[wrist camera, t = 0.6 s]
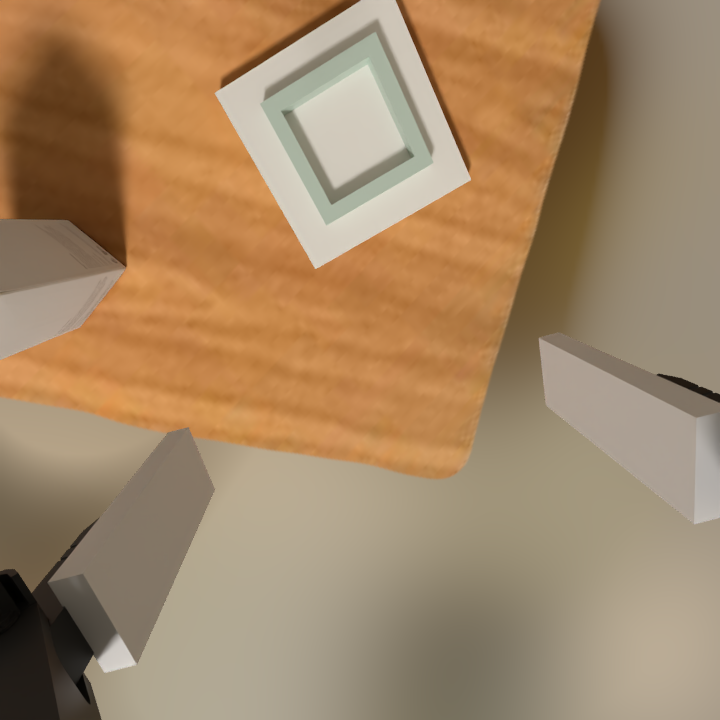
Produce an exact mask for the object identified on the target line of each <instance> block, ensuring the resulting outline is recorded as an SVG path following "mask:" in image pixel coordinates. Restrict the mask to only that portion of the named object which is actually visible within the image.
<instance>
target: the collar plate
mask: <svg viewBox="0 0 720 720" xmlns="http://www.w3.org/2000/svg"><path fill="white" fill-rule="evenodd" d="M215 94H216V96H217V98H218V100H219V101H220V103H221V105H222V107H223V108H224V110H225V112H226V114H227V115H228V117H229V119H230V121H231V122H232V124H233V126H234V128H235V129H236V131H237V133H238V135H239V136H240V138H241V140H242V142H243V143H244V145H245V147H246V149H247V150H248V152H249V154H250V156H251V157H252V159H253V161H254V163H255V164H256V166H257V168H258V170H259V171H260V173H261V175H262V177H263V178H264V180H265V182H266V184H267V185H268V187H269V189H270V190H271V192H272V194H273V196H274V197H275V199H276V201H277V203H278V204H279V206H280V208H281V210H282V211H283V213H284V215H285V217H286V218H287V220H288V222H289V224H290V225H291V227H292V229H293V231H294V232H295V234H296V236H297V238H298V239H299V241H300V243H301V245H302V246H303V248H304V250H305V252H306V253H307V255H308V257H309V259H310V260H311V262H312V264H313V266H314V267H315V269H317V268H318V267H320V266H322V265H324V264H325V263H327V262H329V261H331V260H332V259H334V258H336V257H338V256H339V255H341V254H343V253H345V252H346V251H348V250H350V249H352V248H353V247H355V246H357V245H359V244H360V243H362V242H364V241H365V240H367V239H369V238H371V237H372V236H374V235H376V234H378V233H379V232H381V231H383V230H385V229H386V228H388V227H390V226H392V225H393V224H395V223H397V222H399V221H400V220H402V219H404V218H406V217H407V216H409V215H411V214H413V213H414V212H416V211H418V210H419V209H421V208H423V207H425V206H426V205H428V204H430V203H432V202H433V201H435V200H437V199H439V198H440V197H442V196H444V195H446V194H447V193H449V192H451V191H453V190H454V189H456V188H458V187H460V186H461V185H463V184H465V183H467V182H468V181H470V180H471V178H470V176H469V173H468V171H467V169H466V166H465V164H464V161H463V159H462V157H461V154H460V152H459V150H458V147H457V145H456V143H455V140H454V138H453V135H452V133H451V131H450V128H449V126H448V124H447V121H446V119H445V116H444V114H443V112H442V109H441V107H440V105H439V102H438V100H437V97H436V95H435V93H434V90H433V88H432V86H431V83H430V81H429V79H428V76H427V74H426V71H425V69H424V67H423V64H422V62H421V60H420V57H419V55H418V52H417V50H416V48H415V45H414V43H413V41H412V38H411V36H410V34H409V31H408V29H407V26H406V24H405V22H404V19H403V17H402V15H401V12H400V10H399V7H398V5H397V3H396V0H361V1H359V2H358V3H356V4H355V5H353V6H351V7H350V8H348V9H347V10H345V11H343V12H342V13H340V14H339V15H337V16H336V17H334V18H332V19H331V20H329V21H328V22H326V23H325V24H323V25H321V26H320V27H318V28H317V29H315V30H313V31H312V32H310V33H309V34H307V35H306V36H304V37H302V38H301V39H299V40H298V41H296V42H295V43H293V44H291V45H290V46H288V47H287V48H285V49H283V50H282V51H280V52H279V53H277V54H276V55H274V56H272V57H271V58H269V59H268V60H266V61H265V62H263V63H261V64H260V65H258V66H257V67H255V68H253V69H252V70H250V71H249V72H247V73H246V74H244V75H242V76H241V77H239V78H238V79H236V80H235V81H233V82H231V83H230V84H228V85H227V86H225V87H223V88H222V89H220V90H219V91H217V92H216V93H215Z"/></svg>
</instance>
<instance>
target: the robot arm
mask: <svg viewBox="0 0 720 720" xmlns="http://www.w3.org/2000/svg"><path fill="white" fill-rule="evenodd" d="M539 345H540V354H541V364H542V372H543V382H544V391H545V400H546V405H547V406H548V407H549V408H550V409H551V410H553V411H554V412H555V413H556V414H557V415H559V416H560V417H561V418H562V419H564V420H565V421H566V422H567V423H569V424H570V425H571V426H572V427H574V428H575V429H576V430H577V431H579V432H580V433H581V434H582V435H584V436H585V437H586V438H588V439H589V440H590V441H591V442H592V443H594V444H595V445H596V446H597V447H599V448H600V449H601V450H603V451H604V452H605V453H606V454H607V455H609V456H610V457H611V458H612V459H614V460H615V461H616V462H617V463H618V464H620V465H621V466H622V467H623V468H625V469H626V470H627V471H629V472H630V473H631V474H632V475H634V476H635V477H636V478H637V479H638V480H640V481H641V482H642V483H644V484H645V485H646V486H647V487H648V488H650V489H651V490H652V491H653V492H655V493H656V494H657V495H658V496H660V497H661V498H662V499H663V500H665V501H666V502H667V503H668V504H670V505H671V506H672V507H673V508H675V509H676V510H677V511H678V512H680V513H681V514H682V515H683V516H685V517H686V518H687V519H689V521H691V522H692V523H693V524H697V523H701V522H705V521H709V520H713V519H717V518H720V394H718V393H713V392H712V391H711V390H708V389H706V388H703V387H698V385H696V384H694V383H691V382H689V381H686V380H684V379H682V378H678V377H673V376H667V375H663V374H657V375H655V374H652V373H650V372H648V371H645V370H643V369H641V368H638V367H636V366H634V365H632V364H630V363H627V362H625V361H623V360H621V359H618V358H616V357H614V356H611V355H609V354H607V353H605V352H602V351H600V350H598V349H595V348H593V347H591V346H589V345H586V344H584V343H582V342H580V341H577V340H575V339H573V338H571V337H568V336H566V335H564V334H561V333H556V334H552V335H548V336H544V337H540V338H539ZM214 490H215V489H214V486H213V484H212V481H211V479H210V477H209V474H208V472H207V470H206V467H205V465H204V463H203V460H202V458H201V456H200V453H199V451H198V448H197V446H196V444H195V441H194V439H193V437H192V434H191V432H190V430H189V427H188V428H184V429H180V430H176V431H172V432H168V433H167V435H166V436H165V437H164V438H163V440H162V441H161V442H160V443H159V445H158V446H157V447H156V448H155V450H154V451H153V452H152V453H151V455H150V456H149V457H148V458H147V459H146V461H145V462H144V463H143V464H142V466H141V467H140V468H139V470H138V471H137V472H136V473H135V474H134V476H133V477H132V478H131V479H130V481H129V482H128V483H127V484H126V486H125V487H124V488H123V489H122V491H121V492H120V493H119V494H118V496H117V497H116V498H115V499H114V501H113V502H112V503H111V504H110V506H109V507H108V508H107V509H106V510H105V512H104V513H103V514H102V515H101V517H100V518H98V519H97V520H96V521H95V522H94V523H92V524H91V525H90V526H89V527H87V528H86V529H85V530H84V531H83V532H82V533H81V534H80V535H79V536H78V538H77V539H76V540H75V541H74V543H73V544H72V545H71V546H70V547H71V548H70V549H68V550H67V551H66V552H65V554H64V555H63V556H62V557H61V561H58V562H57V563H56V564H55V566H54V567H53V568H52V569H51V570H50V572H49V573H48V574H47V575H46V576H45V578H44V579H43V580H42V581H41V583H40V584H39V585H38V586H37V587H36V589H35V590H34V591H33V592H32V593H31V592H30V590H29V589H28V587H27V586H26V584H25V583H24V581H23V580H22V578H21V577H20V575H19V574H18V572H16V570H15V569H8V570H3V571H0V720H101V716H100V713H99V710H98V707H97V703H96V700H95V696H94V693H93V690H92V687H91V683H90V682H89V680H88V678H87V677H86V676H85V674H84V670H85V668H86V666H87V665H88V663H89V661H90V660H91V658H92V656H93V655H94V657H95V658H96V660H97V661H98V663H99V664H100V666H101V668H102V669H103V671H104V672H105V673H106V672H110V671H114V670H118V669H121V668H126V667H130V666H134V665H137V663H138V661H139V659H140V657H141V654H142V652H143V650H144V647H145V645H146V643H147V641H148V639H149V636H150V634H151V632H152V629H153V628H154V625H155V623H156V621H157V619H158V616H159V614H160V612H161V609H162V607H163V605H164V603H165V601H166V598H167V596H168V594H169V591H170V589H171V587H172V585H173V583H174V580H175V578H176V576H177V574H178V571H179V569H180V567H181V564H182V562H183V560H184V558H185V556H186V553H187V551H188V549H189V547H190V544H191V542H192V540H193V538H194V535H195V533H196V531H197V529H198V526H199V524H200V522H201V520H202V517H203V515H204V513H205V510H206V508H207V506H208V504H209V502H210V499H211V497H212V495H213V493H214Z"/></svg>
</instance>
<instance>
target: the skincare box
mask: <svg viewBox="0 0 720 720" xmlns="http://www.w3.org/2000/svg"><path fill="white" fill-rule="evenodd" d="M125 269H126V268H125V266H124V265H123V264H121V263H120V262H119V261H118V260H116V259H115V258H114V257H113V256H112V255H110V254H109V253H108V252H107V251H106V250H104V249H103V248H102V247H101V246H99V245H98V244H97V243H96V242H95V241H93V240H92V239H91V238H90V237H88V236H87V235H86V234H85V233H83V232H82V231H81V230H80V229H78V228H77V227H76V226H75V225H73V224H72V223H71V222H70V221H68V220H36V219H33V220H30V219H0V360H1V359H4V358H6V357H9V356H11V355H13V354H16V353H18V352H21V351H23V350H26V349H28V348H30V347H33V346H35V345H38V344H40V343H42V342H45V341H47V340H50V339H52V338H55V337H57V336H59V335H62V334H64V333H67V332H69V331H72V330H74V329H77V328H79V327H81V325H82V324H83V323H84V322H85V320H86V319H87V318H88V317H89V315H90V314H91V313H92V312H93V310H94V309H95V308H96V307H97V305H98V304H99V303H100V302H101V300H102V299H103V298H104V297H105V295H106V294H107V293H108V291H109V290H110V289H111V288H112V286H113V285H114V284H115V283H116V281H117V280H118V279H119V277H120V276H121V275H122V273H123V272H124V271H125Z"/></svg>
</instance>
